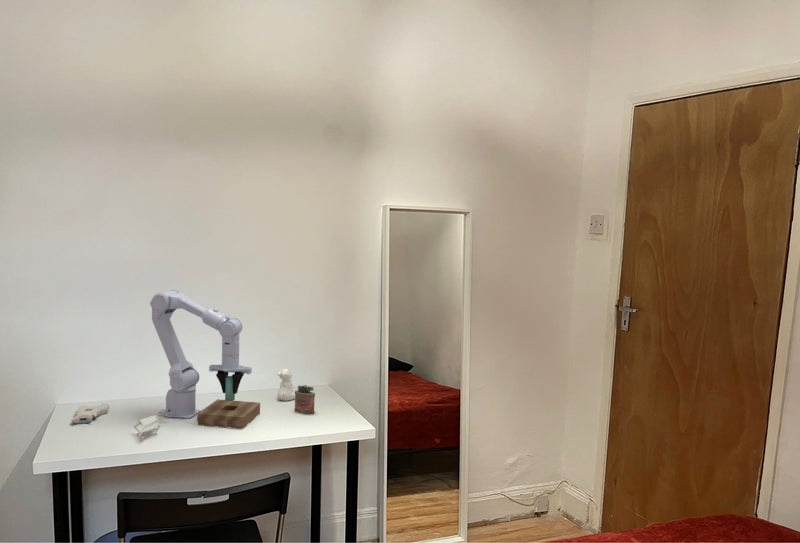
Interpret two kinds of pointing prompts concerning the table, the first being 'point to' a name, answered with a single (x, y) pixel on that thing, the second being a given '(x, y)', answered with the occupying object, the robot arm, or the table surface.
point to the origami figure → (146, 424)
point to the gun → (89, 413)
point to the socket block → (228, 413)
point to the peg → (229, 389)
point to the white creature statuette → (285, 386)
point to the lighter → (304, 400)
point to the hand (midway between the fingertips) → (230, 392)
